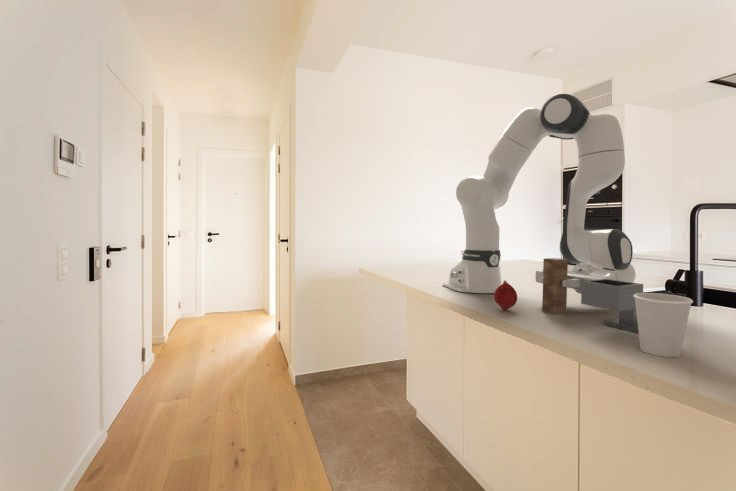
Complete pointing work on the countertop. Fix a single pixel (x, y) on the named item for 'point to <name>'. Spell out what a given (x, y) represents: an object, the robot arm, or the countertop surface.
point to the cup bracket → (613, 300)
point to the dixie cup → (662, 322)
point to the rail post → (554, 285)
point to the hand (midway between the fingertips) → (552, 281)
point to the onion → (505, 296)
